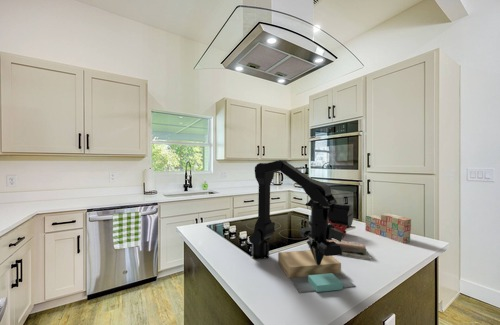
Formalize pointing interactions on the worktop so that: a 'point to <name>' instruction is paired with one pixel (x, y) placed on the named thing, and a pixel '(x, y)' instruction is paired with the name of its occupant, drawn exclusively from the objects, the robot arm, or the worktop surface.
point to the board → (306, 264)
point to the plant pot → (339, 227)
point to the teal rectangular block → (325, 282)
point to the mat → (305, 286)
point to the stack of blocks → (390, 226)
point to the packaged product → (352, 249)
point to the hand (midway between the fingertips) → (318, 264)
